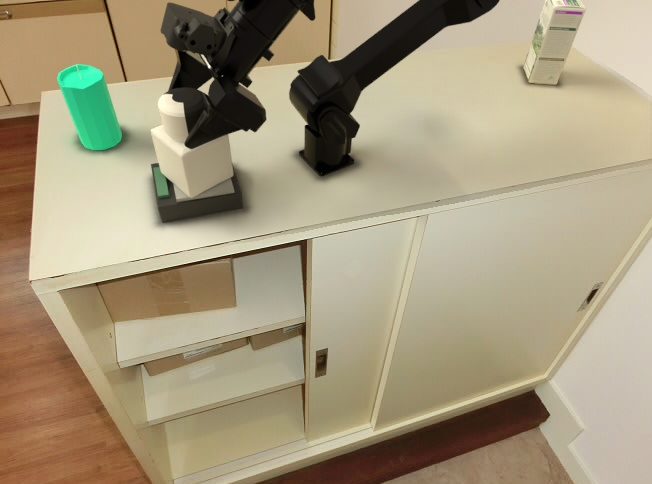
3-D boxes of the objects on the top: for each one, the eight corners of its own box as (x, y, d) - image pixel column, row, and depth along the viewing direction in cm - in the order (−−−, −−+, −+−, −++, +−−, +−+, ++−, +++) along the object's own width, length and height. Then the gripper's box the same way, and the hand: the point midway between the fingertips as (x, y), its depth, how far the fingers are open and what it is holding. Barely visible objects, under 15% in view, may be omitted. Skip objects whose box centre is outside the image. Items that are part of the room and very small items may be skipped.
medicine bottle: (203, 152, 76) (190, 74, 66) (234, 176, 73) (225, 99, 63) (160, 173, 72) (139, 94, 63) (191, 199, 69) (174, 121, 60)
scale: (161, 222, 71) (156, 203, 68) (154, 179, 76) (149, 160, 74) (243, 208, 74) (241, 190, 71) (230, 167, 79) (228, 148, 76)
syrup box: (557, 85, 101) (589, 7, 90) (527, 83, 101) (555, 5, 89) (550, 69, 104) (580, -7, 93) (521, 67, 104) (547, -9, 93)
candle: (78, 130, 82) (51, 57, 73) (119, 124, 84) (96, 51, 75) (83, 153, 79) (54, 80, 70) (125, 146, 81) (102, 73, 71)
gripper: (175, -55, 60) (101, 54, 65) (228, 17, 50) (136, 140, 54) (246, 6, 68) (177, 98, 73) (304, 78, 58) (219, 180, 63)
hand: (177, 125), depth 66 cm, fingers open, 9 cm apart
